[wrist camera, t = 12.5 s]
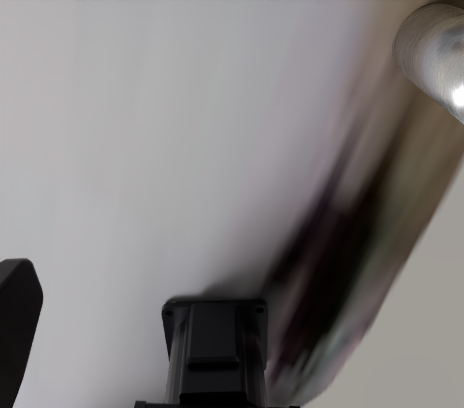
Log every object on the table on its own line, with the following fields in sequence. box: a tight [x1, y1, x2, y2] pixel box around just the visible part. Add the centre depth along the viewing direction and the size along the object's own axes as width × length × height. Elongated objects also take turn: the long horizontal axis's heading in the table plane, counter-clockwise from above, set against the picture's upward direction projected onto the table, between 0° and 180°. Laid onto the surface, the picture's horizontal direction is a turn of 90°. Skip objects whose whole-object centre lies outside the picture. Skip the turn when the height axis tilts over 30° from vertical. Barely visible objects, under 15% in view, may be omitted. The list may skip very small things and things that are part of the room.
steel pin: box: [392, 3, 464, 124], centre depth 16 cm, size 3×3×6 cm
